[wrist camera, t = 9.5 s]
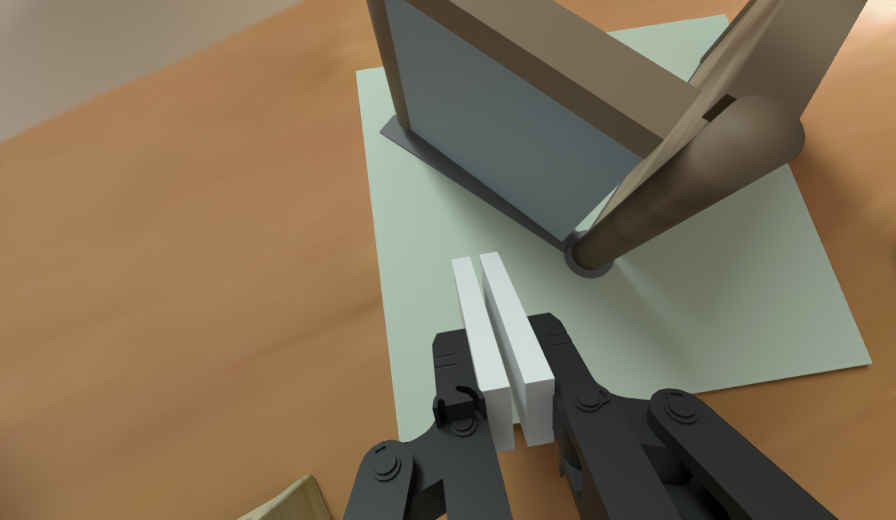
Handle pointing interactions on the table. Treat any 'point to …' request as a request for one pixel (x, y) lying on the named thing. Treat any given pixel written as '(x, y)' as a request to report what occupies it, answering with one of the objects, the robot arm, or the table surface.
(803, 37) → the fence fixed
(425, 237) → the card
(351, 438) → the table surface
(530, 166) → the wooden picture frame
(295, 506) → the toy sofa
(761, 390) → the table surface
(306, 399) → the table surface
